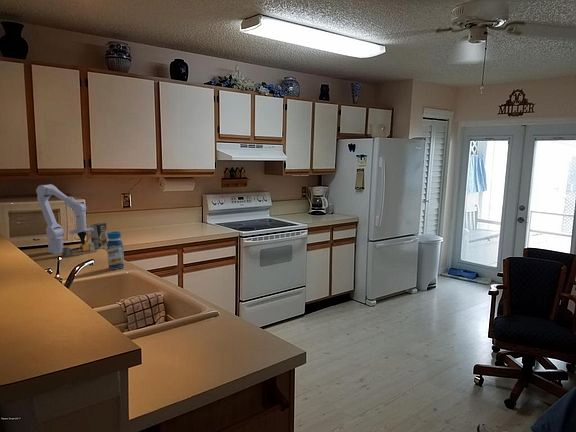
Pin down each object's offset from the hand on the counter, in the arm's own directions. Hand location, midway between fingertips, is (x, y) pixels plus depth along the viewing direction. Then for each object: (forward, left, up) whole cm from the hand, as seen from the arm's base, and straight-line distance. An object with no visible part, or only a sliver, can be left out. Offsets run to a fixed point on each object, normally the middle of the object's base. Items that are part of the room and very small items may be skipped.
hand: (82, 243), depth 276 cm
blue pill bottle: (+53, -8, -6) cm, 54 cm away
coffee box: (-7, +15, -6) cm, 18 cm away
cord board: (0, -3, -6) cm, 7 cm away
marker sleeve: (0, +1, -5) cm, 5 cm away
